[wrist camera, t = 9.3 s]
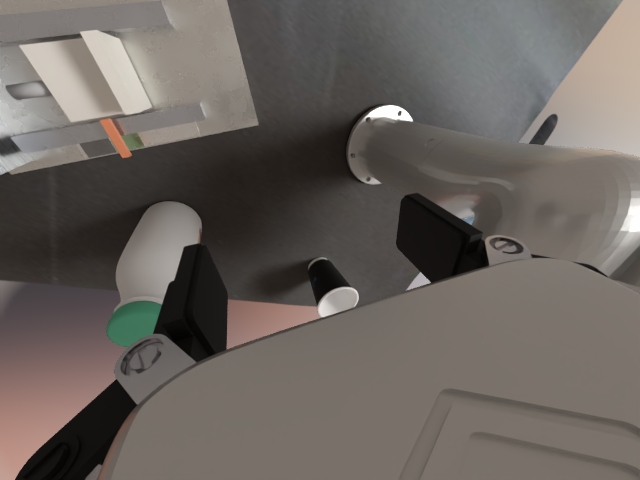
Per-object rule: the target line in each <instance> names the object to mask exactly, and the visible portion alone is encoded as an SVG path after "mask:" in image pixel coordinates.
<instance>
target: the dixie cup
mask: <svg viewBox="0 0 640 480" xmlns="http://www.w3.org/2000/svg"><path fill="white" fill-rule="evenodd" d="M308 274H309V278H310V282H311V285H312V289H313V293H314V296H315V300H316V303H317V312H318V314H319V316H321V317H325V316H328V315H332V314H335V313H338V312H341V311H344V310H347V309H350V308H353V307H355V306H356V304H357V302H358V293H357V291H356V290H355V289H353V288H352V287H351V286H350V285H349V284H348V282H347V281H346V280H345V279H344V278H343V276H342V275H341V274H340V273H339V271H338V270H337V269H336V268H335V267H334V265H333V264H332V263H331V262H330V261H329V260H327V259H326V258H323V257H319V258H316V259H314V260H313V261H311V263H310V264H309V266H308Z"/></svg>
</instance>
